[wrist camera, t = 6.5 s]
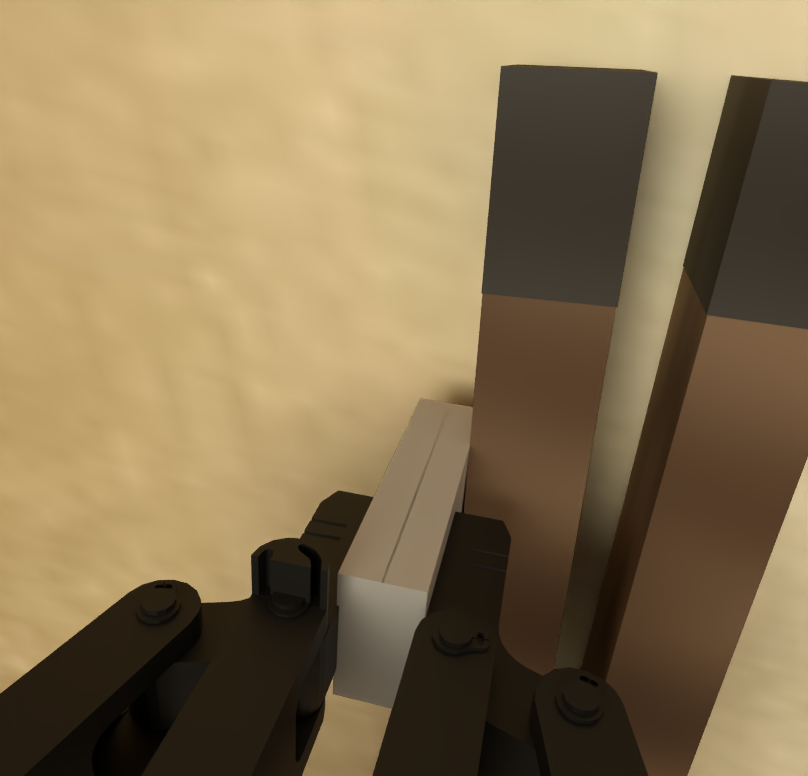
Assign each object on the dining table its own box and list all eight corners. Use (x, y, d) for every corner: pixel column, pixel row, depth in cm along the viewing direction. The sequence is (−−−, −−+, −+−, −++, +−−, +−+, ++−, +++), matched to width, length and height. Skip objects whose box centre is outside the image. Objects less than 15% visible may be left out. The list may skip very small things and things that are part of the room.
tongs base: (573, 979, 28) (571, 1134, 24) (426, 935, 29) (401, 1077, 25) (872, 87, 14) (991, 99, 10) (567, 60, 15) (560, 61, 11)
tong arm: (518, 828, 25) (508, 937, 22) (447, 811, 26) (428, 915, 22) (641, 70, 15) (657, 72, 12) (518, 64, 15) (501, 66, 12)
